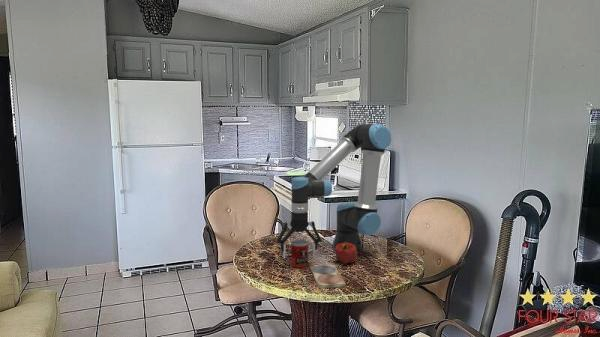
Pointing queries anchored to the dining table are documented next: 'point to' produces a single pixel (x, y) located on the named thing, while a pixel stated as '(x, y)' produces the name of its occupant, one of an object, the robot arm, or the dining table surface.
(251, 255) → the dining table surface
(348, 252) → the red apple
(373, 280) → the dining table surface
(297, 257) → the canned food
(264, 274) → the dining table surface
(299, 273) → the dining table surface
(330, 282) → the board
